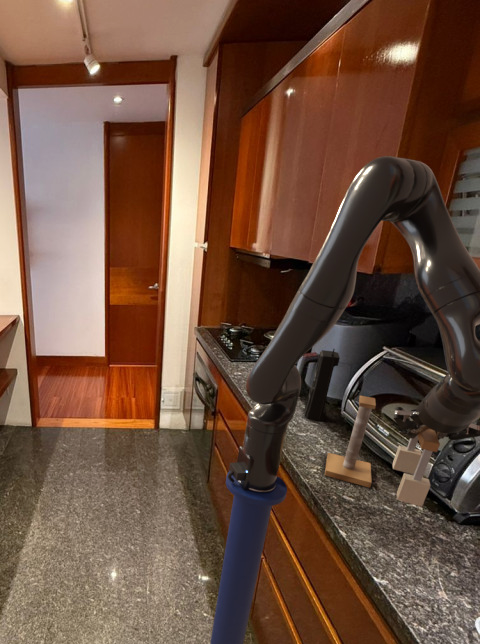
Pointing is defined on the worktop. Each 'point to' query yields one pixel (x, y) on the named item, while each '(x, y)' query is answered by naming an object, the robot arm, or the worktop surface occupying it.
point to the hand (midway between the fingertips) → (420, 435)
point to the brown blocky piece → (415, 467)
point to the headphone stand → (353, 451)
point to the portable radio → (321, 385)
